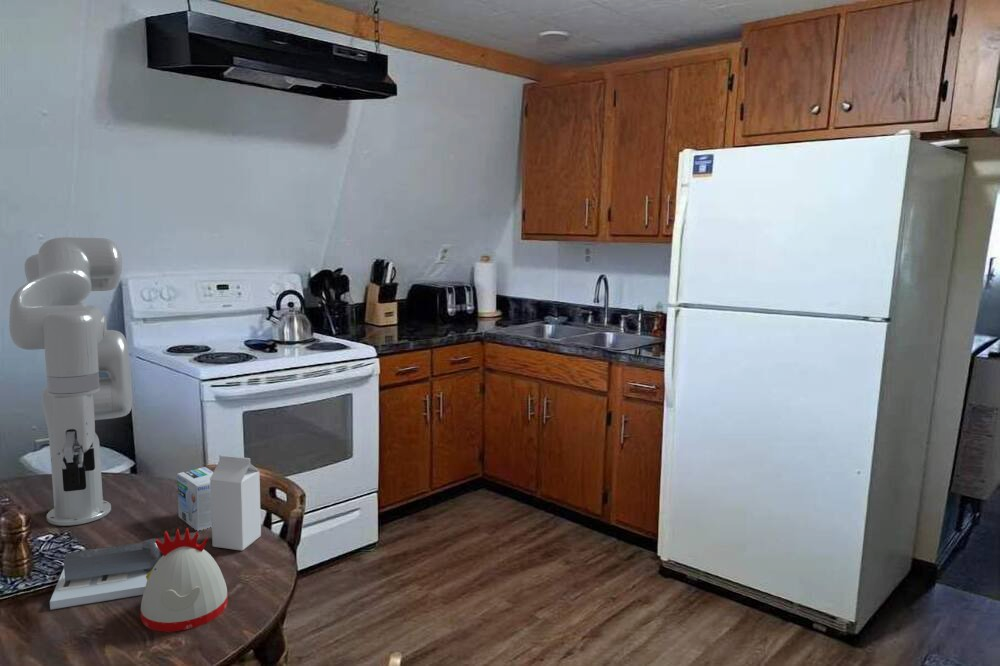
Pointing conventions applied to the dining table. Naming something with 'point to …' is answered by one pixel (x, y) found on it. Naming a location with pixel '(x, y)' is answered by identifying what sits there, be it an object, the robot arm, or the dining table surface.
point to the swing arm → (111, 560)
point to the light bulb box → (195, 498)
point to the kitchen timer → (183, 586)
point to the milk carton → (235, 503)
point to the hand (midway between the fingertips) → (80, 480)
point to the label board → (98, 588)
